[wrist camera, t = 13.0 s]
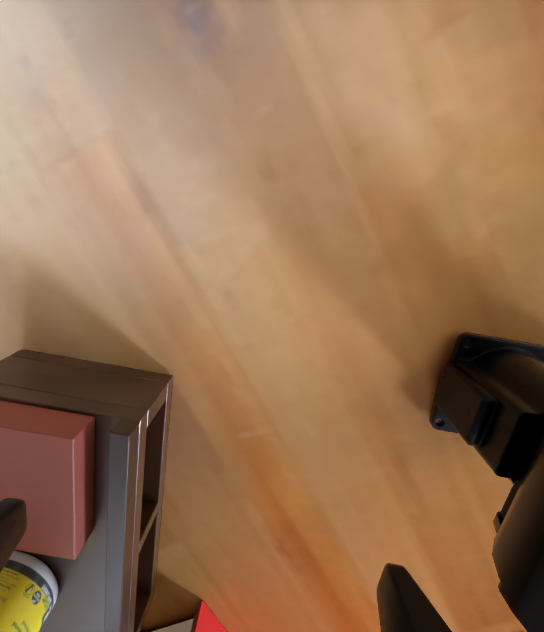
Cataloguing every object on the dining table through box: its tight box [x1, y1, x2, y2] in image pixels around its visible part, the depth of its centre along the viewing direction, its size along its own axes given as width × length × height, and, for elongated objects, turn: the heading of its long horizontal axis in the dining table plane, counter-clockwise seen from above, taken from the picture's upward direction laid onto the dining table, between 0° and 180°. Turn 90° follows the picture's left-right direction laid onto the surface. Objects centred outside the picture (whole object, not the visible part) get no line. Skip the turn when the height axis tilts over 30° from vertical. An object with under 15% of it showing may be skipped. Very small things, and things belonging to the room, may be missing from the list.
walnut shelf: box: [0, 350, 173, 632], centre depth 21 cm, size 10×20×6 cm, turn 171°
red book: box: [0, 400, 95, 560], centre depth 17 cm, size 6×8×2 cm
